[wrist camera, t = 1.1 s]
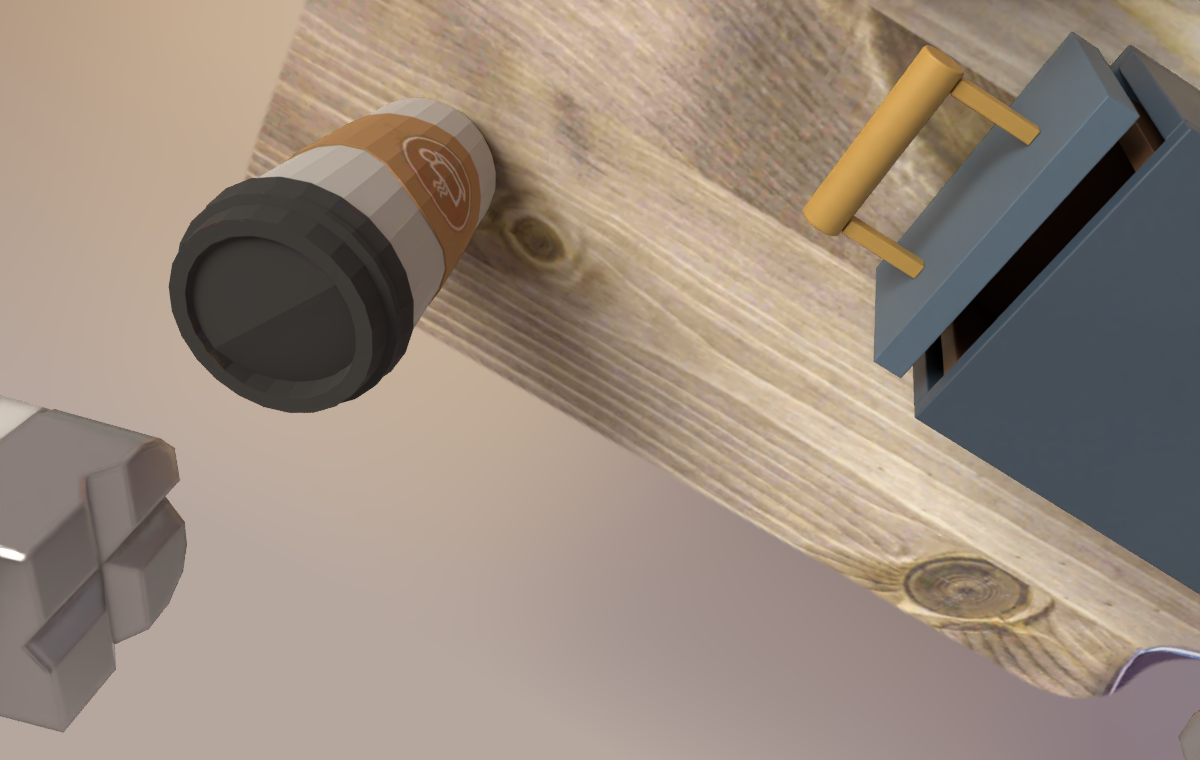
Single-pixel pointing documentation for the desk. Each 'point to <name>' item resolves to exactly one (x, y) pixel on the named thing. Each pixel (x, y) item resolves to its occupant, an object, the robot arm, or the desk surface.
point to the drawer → (985, 194)
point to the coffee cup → (332, 256)
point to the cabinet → (1102, 355)
